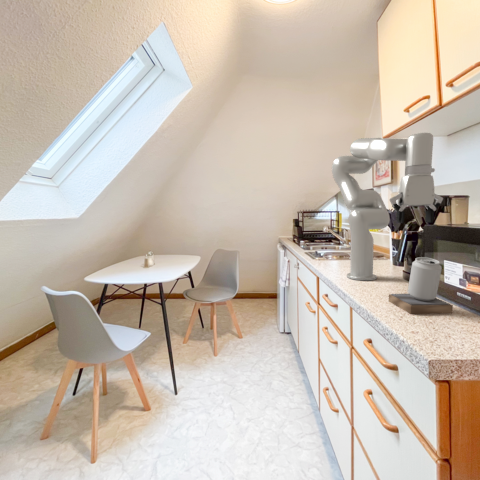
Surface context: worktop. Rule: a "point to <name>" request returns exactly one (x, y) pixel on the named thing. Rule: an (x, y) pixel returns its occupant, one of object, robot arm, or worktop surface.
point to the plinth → (420, 305)
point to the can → (424, 278)
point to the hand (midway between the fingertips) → (414, 222)
